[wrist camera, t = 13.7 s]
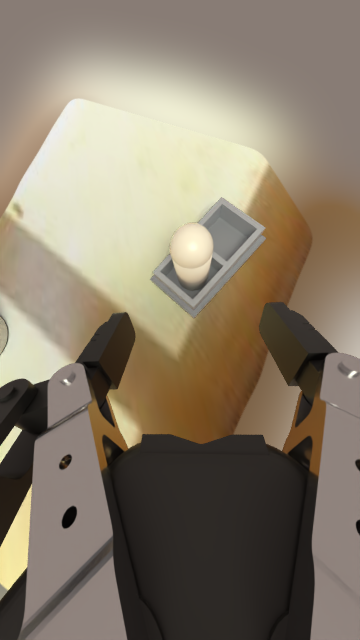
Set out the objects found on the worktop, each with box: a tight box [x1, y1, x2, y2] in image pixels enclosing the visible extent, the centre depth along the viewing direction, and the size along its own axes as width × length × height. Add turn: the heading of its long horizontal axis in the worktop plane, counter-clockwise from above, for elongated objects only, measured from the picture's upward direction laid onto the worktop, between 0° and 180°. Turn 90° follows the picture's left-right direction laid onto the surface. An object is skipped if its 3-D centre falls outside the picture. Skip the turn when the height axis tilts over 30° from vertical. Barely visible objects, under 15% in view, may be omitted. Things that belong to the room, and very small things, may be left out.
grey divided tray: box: [150, 197, 266, 318], centre depth 24 cm, size 10×17×4 cm, turn 138°
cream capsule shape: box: [170, 223, 214, 291], centre depth 20 cm, size 5×5×10 cm
